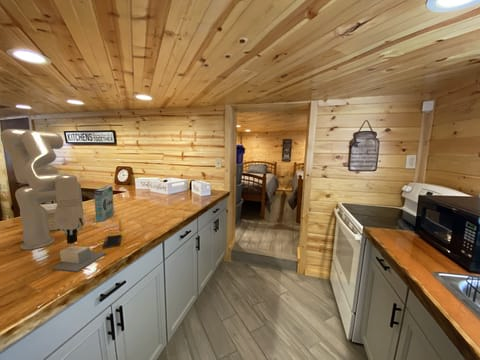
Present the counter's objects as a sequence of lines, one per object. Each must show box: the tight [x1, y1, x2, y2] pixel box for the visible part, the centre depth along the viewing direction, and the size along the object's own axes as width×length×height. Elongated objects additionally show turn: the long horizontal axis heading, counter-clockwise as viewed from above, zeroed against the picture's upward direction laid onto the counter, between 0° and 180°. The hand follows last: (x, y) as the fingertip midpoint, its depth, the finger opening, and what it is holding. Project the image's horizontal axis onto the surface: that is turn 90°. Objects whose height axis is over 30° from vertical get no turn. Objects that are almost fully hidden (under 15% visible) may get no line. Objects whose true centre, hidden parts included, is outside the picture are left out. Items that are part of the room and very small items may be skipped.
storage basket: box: [19, 202, 58, 232], centre depth 126 cm, size 24×16×15 cm
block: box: [59, 245, 91, 263], centre depth 89 cm, size 5×5×10 cm
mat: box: [51, 250, 107, 273], centre depth 89 cm, size 12×15×1 cm
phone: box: [102, 234, 123, 250], centre depth 109 cm, size 8×1×15 cm
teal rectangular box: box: [93, 185, 115, 223], centre depth 147 cm, size 20×5×23 cm, turn 13°
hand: (72, 242), depth 88 cm, fingers closed
